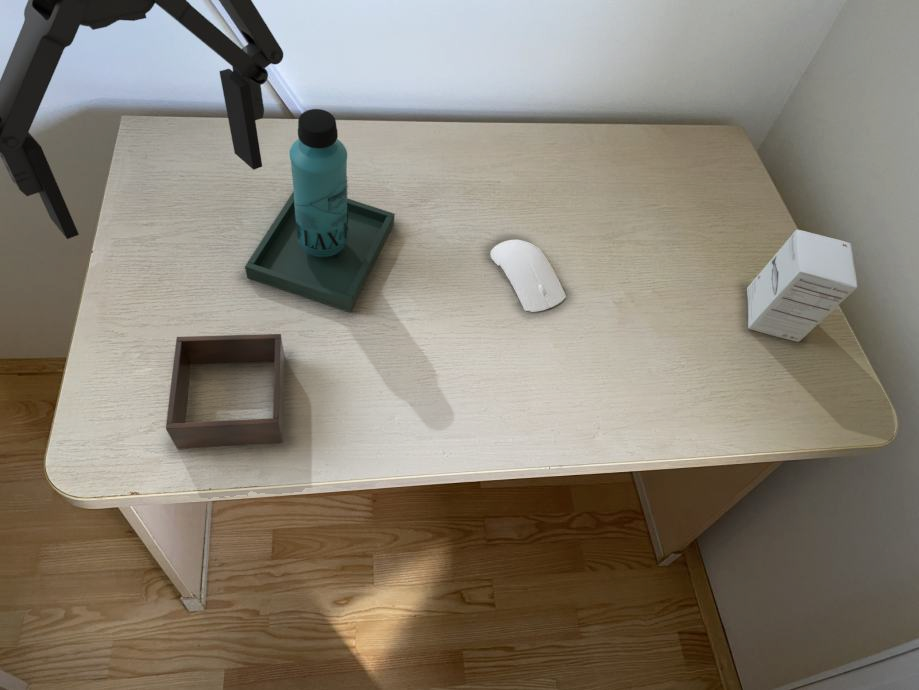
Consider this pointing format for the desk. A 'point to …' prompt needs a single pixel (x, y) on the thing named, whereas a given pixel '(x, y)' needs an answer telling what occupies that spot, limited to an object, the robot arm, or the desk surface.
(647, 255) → the desk surface
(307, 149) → the beverage bottle
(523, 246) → the computer mouse
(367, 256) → the tray
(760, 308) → the white packaging box
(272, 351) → the crate
